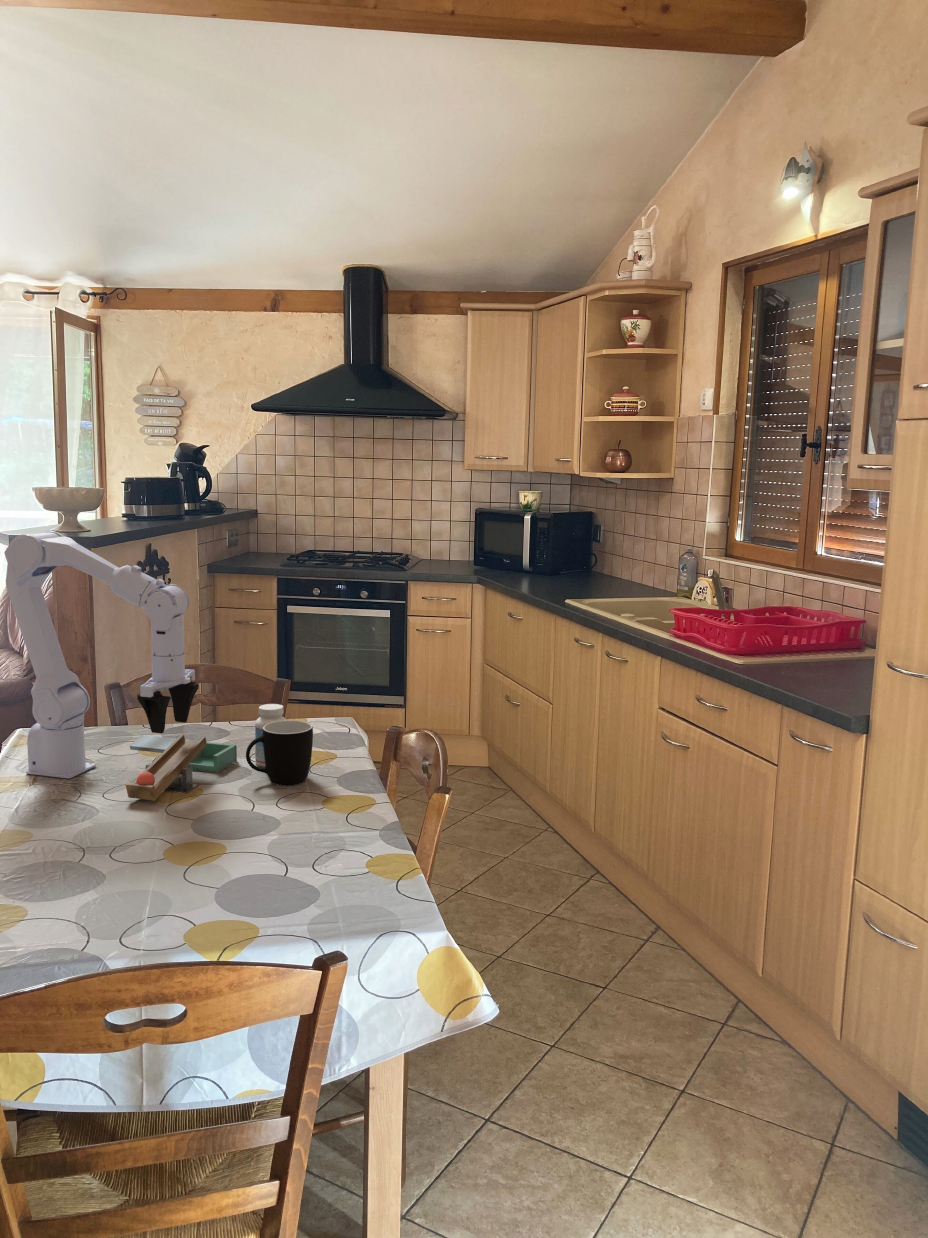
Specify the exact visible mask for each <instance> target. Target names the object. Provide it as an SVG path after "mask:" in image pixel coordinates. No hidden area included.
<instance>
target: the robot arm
mask: <svg viewBox="0 0 928 1238" xmlns="http://www.w3.org/2000/svg"><path fill="white" fill-rule="evenodd" d="M3 553H4V556H5V559H6V562H7V564H6V565H7V566H6V575H5V587H6V591H7V594H8V596H9V600H10V602H11V605H12V609H13V612H14V614H15V617H16V621H17V623H18V626H19V629H20V633H21V635H22V636H21V637H22V639H23V643H24V644H25V647H26V651H27V653H28V654H27V655H28V657H29V660H30V662H31V666H32V669H33V672H34V674H35V675H34V676H35V681H34V683H33V686H32V688H31V690H30V695H31V697H32V708H31V709H32V710H31V712H32V716H33V717H34V720H35V721H36V723H35V724H33V725H32V726H31V727H30V729H29V731H28V733H27V738H26V743H27V744H26V747H27V764H28V769H27V770H25V774H26V775H27V774H28V775H33V776H34V775H35V776H44V777H51V778H62V779H72V778H74V777H76V776H79V775H80V774H83V773H84V772H87V771H88V770H91V769H93V768H95V767H96V766H97V764H96V762H95V763H93V762H88V761H87V762H86V742H85V723H84V722H85V713H87V711H88V710H89V708H90V705H91V697H90V694H89V692H88V690H87V689H86V688H85V687H84V686H83V685H82V683H81V681H80V679H79V676H78V675H77V674H76V673H74V672H73V671H71V670H70V669H69V668H68V665H67V662H66V660H65V656H64V653H63V651H62V648H61V644H60V642H59V638H58V635H57V632H56V629H55V626H54V623H53V620H52V617H51V614H50V611H49V607H48V605H47V601H46V599H45V596H44V593H43V589H42V587H43V584H44V583H45V582H46V580H47V579H48V577H49V576H50V574H51V573H52V572H53V571H54V570H56V569H57V568H58V567H61V566H63V567H64V566H69V567H71V568H73V569H76V570H77V571H81V572H82V573H85V574H86V575H88V576H91V577H93V578H96V579H98V580H100V581H102V582H104V583H106V584H108V585H109V588H110V591H111V593H112V594H114V595H116V596H117V597H119V598H121V599H123V600H124V601H127V602H129V603H130V604H132V605H134V606H137V607H138V608H140V609H142V610H144V612H145V615H146V616H147V617H148V618H149V620H150V650H151V651H150V655H151V656H150V657H151V658H150V659H151V660H150V661H151V677H150V678H149V679H148V680H146V682H145V683H143V684H141V685H140V686H139V688H140V690H139V691H140V693H138V694H136V695H137V697H136V698H137V701H138V702H139V704H140V705H141V707H142V709H143V711H144V713H145V715H146V718H147V721H148V724H149V728H150V732H151V733H152V734H159V735H161V734H162V735H163V734H164V732H165V730H166V729H165V728H166V718H167V717H166V715H167V712H168V711H167V710H168V706H169V703H170V701H171V703H172V710H173V717H174V721H175V723H184V724H185V723H188V718H189V714H190V710H191V706H192V703H193V699H194V697H195V695H196V693H197V691H198V689H199V687H200V686H199V684H200V683H198V682H195V680H196V671H195V669H189V668H188V669H187V668H186V663H185V662H186V659H185V658H186V655H185V654H186V653H185V652H186V651H185V648H186V647H185V646H186V644H185V613H186V612H187V610H188V608H189V605H190V597H189V595H188V593H187V592H186V591H185V590H184V589H183V588H182V587H181V586H179V585H178V584H176V583H171V584H167V585H166V584H165V580H164V579H162V578H158V579H156V578H154V577H152V576H151V575H148V574H146V573H144V572H143V571H142V567H141V566H138V565H137V564H136V565H132V566H131V565H130V564H129V565H127V564H126V565H123V566H121V567H118V566H117V565H116V564H114V563H112V562H111V561H108V560H107V559H105V558H103V557H101V556H100V555H98V554H96V553H95V552H93V551H91V550H90V549H88V548H86V547H84V546H83V545H81V544H79V543H77V541H75V540H74V539H73V538H71V537H68V536H64V535H63V534H61V533H60V532H58V531H52V530H50V531H45V532H40V533H31V534H28V533H23V534H20V535H17V536H15V537H14V538H13V539H12V540H11V542H10V543H9V544H8V546H7V547H6V549H5V550H4V552H3ZM166 690H168V692H169V694H170V696H168V695H163V693H162V692H163V691H166Z"/></svg>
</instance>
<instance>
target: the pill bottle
mask: <svg viewBox="0 0 928 1238" xmlns="http://www.w3.org/2000/svg"><path fill="white" fill-rule="evenodd" d="M258 715H259V717H257V719H256V720H255V724H254V726H255V730H254V731H255V732H254V736H255V737H254V740H255V739H256V738H258V737H260V736H262V734H263V727H264V726H265V725H266V724H268V723H272V722H276V721H286V720H287V719H286V718H285V717H284V716H283V715H284V705H282V704H279V703H278V704H277V703H266V704H262V705H260V706H259V707H258ZM254 748H255V756H254V757H255V764H256V766H258V767H262V768H263V767H265V757H264V748H263V743H262V742H258V743H256V744H255V745H254Z"/></svg>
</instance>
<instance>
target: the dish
mask: <svg viewBox="0 0 928 1238" xmlns="http://www.w3.org/2000/svg"><path fill="white" fill-rule="evenodd" d="M206 742H207V746H206V747H205V748H204V749H203V750H202V751H201V752H200V753H199V754H198V755H197V756H196V757H195V758H194V759H193V760H192V762H191V763H190V764H189V765H188V766H192V771H201V772H207V773H208V772H209V773H219V772H221V771H222V770H224V769H226V768H228V767H230V766H231V765H233V764H234V763H236V762H237V761H238V756H237V755H238V754H237V753H238V751H237V749H238V747H237V744H231V743H230V744H229V743H220V742H211V741H210V742H209V741H206Z"/></svg>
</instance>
